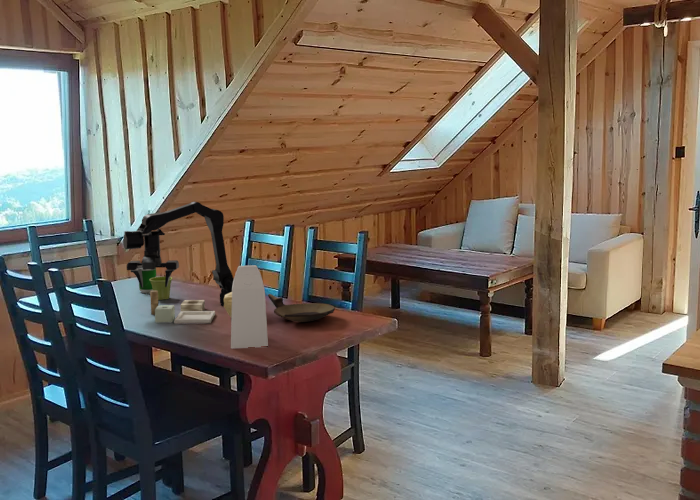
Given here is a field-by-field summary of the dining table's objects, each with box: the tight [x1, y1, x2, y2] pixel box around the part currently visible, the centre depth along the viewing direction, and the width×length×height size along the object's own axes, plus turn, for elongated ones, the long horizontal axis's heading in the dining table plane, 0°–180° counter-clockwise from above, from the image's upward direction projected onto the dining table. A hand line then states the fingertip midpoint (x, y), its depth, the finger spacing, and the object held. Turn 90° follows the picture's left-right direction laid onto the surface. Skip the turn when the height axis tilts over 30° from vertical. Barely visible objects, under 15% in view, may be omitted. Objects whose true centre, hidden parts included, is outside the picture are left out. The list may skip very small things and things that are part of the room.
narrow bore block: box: [154, 304, 176, 323], centre depth 258 cm, size 6×6×5 cm
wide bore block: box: [180, 299, 206, 312], centre depth 273 cm, size 8×8×4 cm
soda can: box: [138, 268, 157, 294], centre depth 307 cm, size 8×8×12 cm
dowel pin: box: [149, 291, 159, 316], centre depth 268 cm, size 3×3×9 cm
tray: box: [173, 310, 216, 325], centre depth 260 cm, size 13×13×2 cm
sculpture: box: [223, 292, 232, 318], centre depth 263 cm, size 12×12×11 cm
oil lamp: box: [267, 293, 336, 323], centre depth 261 cm, size 22×30×8 cm
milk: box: [230, 264, 269, 350], centre depth 228 cm, size 12×12×26 cm
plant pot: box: [150, 276, 173, 301], centre depth 294 cm, size 9×9×9 cm
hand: (154, 287), depth 267 cm, fingers open, 9 cm apart
